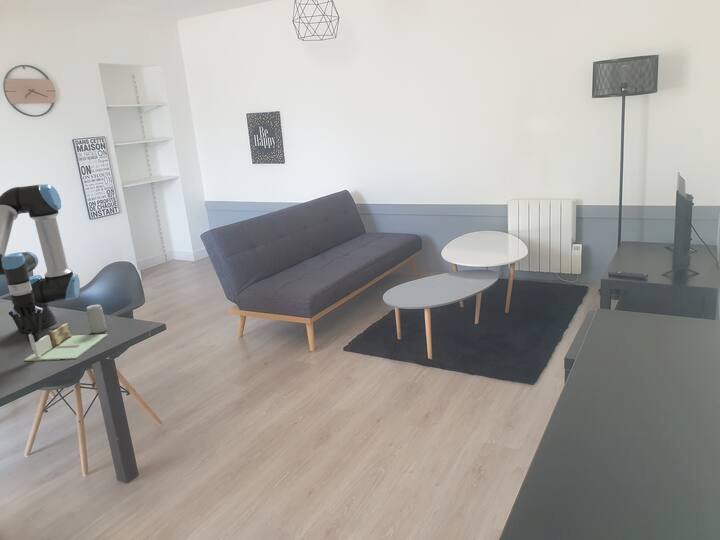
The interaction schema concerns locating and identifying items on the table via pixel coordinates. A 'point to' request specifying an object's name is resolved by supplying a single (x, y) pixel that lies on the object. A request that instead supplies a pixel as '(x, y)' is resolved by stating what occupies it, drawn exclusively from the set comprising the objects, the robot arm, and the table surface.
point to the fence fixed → (59, 334)
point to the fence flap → (42, 346)
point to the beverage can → (96, 319)
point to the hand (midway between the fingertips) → (35, 348)
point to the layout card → (70, 348)
